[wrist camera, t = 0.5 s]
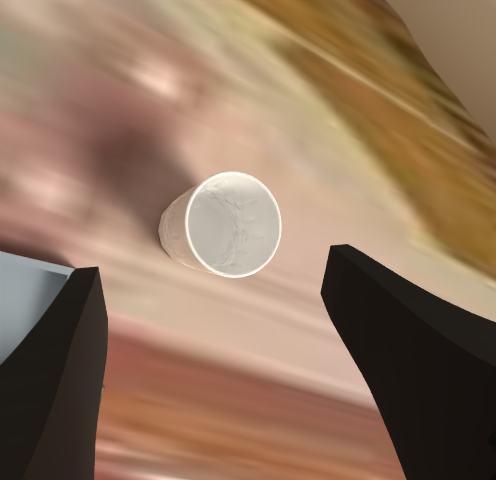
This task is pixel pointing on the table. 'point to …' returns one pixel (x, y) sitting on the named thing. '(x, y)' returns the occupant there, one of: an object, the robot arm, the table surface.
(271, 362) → the table surface
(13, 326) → the parts tray
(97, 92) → the table surface
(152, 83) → the table surface
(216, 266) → the white cup
